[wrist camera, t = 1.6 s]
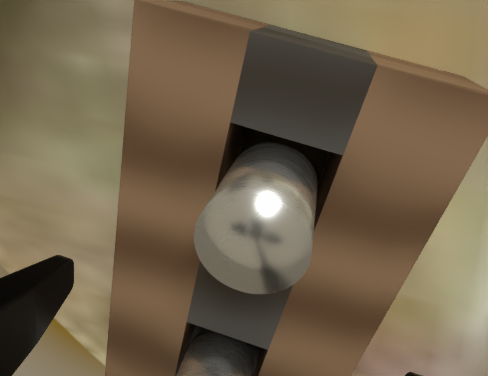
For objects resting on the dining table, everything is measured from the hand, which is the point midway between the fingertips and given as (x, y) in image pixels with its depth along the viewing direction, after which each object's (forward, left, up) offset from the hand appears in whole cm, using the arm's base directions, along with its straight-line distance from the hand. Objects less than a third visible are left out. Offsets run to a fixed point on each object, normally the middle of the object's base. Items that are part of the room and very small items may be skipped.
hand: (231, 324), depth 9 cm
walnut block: (-6, 0, -13) cm, 14 cm away
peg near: (0, 0, -9) cm, 9 cm away
